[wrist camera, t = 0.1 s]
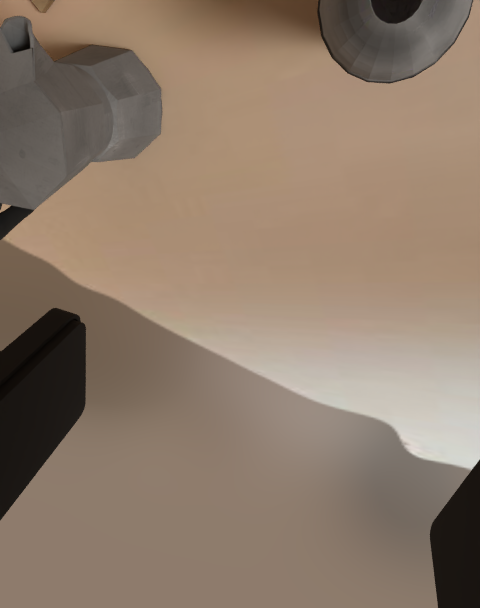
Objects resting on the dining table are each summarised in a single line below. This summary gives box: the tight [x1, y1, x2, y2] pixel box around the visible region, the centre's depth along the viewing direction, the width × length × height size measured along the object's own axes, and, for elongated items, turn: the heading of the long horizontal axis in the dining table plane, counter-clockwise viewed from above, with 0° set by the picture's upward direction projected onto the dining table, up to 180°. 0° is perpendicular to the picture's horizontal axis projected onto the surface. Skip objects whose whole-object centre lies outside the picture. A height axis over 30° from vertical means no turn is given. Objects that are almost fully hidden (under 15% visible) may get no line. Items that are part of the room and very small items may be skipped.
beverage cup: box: [317, 0, 473, 83], centre depth 23 cm, size 7×7×20 cm
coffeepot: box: [0, 16, 162, 240], centre depth 32 cm, size 15×9×18 cm, turn 152°
